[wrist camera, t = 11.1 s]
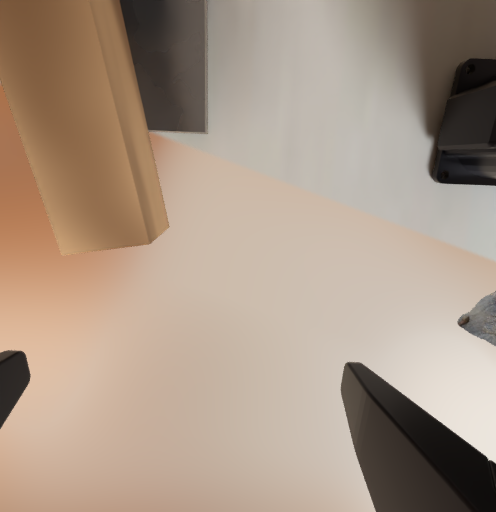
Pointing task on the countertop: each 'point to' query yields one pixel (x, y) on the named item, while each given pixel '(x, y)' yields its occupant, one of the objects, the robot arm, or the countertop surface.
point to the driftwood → (481, 319)
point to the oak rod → (82, 121)
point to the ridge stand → (170, 62)
